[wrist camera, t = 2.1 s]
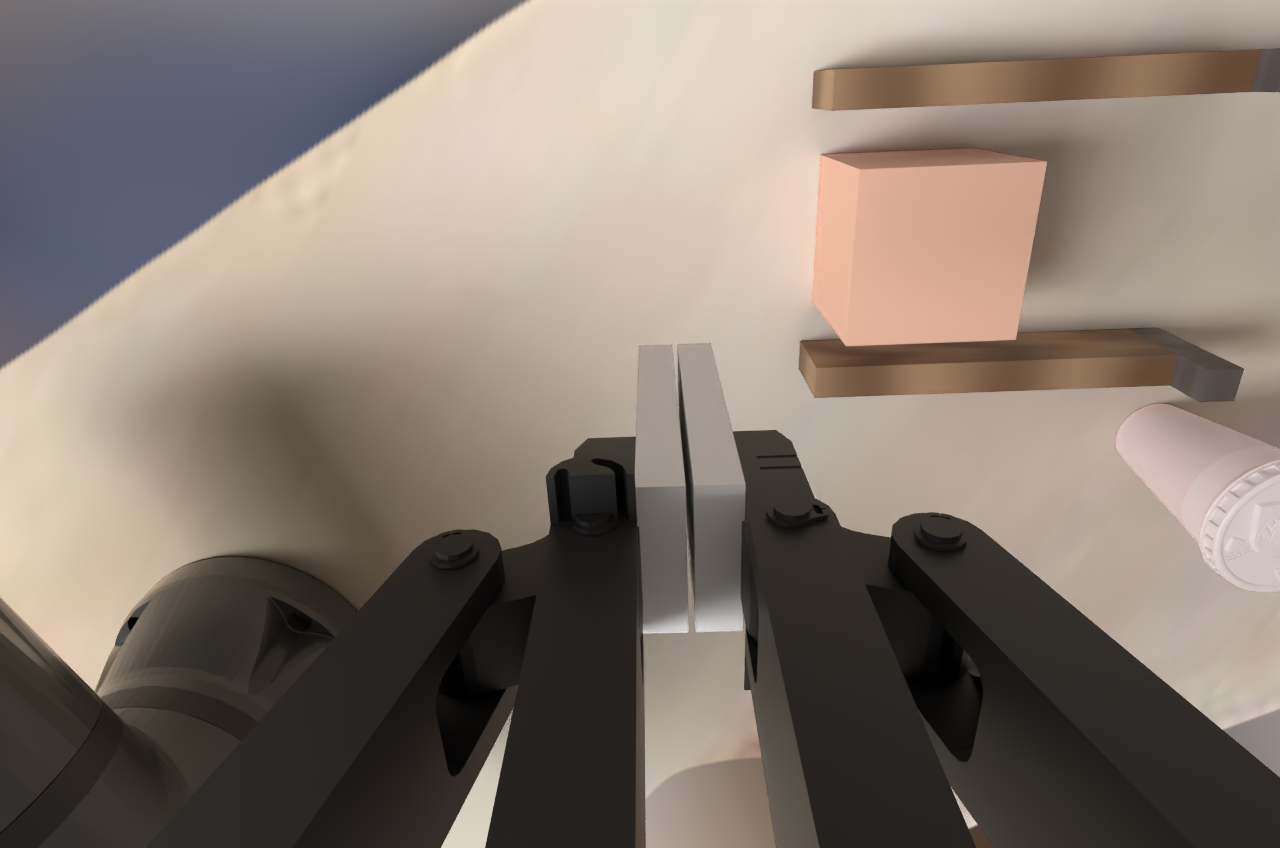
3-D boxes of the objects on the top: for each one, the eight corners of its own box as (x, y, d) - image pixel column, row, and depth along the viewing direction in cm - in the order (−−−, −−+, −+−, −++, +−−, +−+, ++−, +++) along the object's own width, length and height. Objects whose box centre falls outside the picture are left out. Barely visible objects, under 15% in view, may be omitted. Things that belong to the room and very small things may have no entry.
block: (811, 301, 37) (846, 346, 31) (819, 154, 34) (859, 169, 28) (951, 296, 37) (1015, 339, 31) (972, 147, 34) (1047, 161, 28)
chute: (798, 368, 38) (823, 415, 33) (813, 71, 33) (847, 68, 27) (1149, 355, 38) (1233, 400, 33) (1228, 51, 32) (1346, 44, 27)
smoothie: (1160, 356, 38) (1419, 492, 25) (1238, 422, 40) (1520, 581, 27) (1064, 447, 40) (1258, 614, 28) (1142, 506, 42) (1359, 690, 29)
